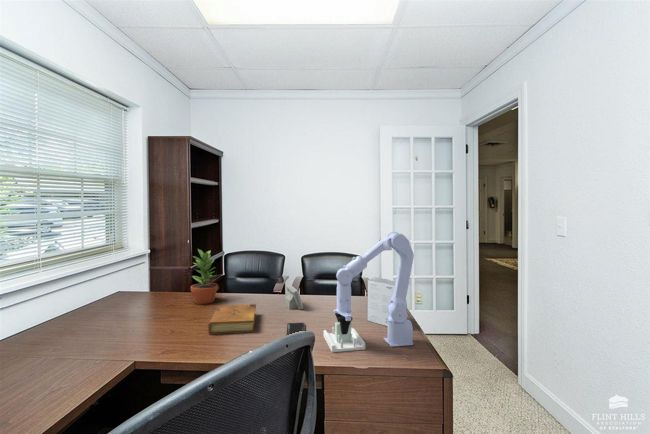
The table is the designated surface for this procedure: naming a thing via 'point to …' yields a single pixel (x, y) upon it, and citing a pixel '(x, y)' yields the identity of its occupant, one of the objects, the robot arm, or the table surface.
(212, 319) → the diary
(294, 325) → the phone
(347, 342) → the dish rack
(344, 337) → the block
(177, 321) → the table surface
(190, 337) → the table surface
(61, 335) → the table surface
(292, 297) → the grey angular sculpture
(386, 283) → the hard drive box
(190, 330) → the table surface
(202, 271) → the potted plant
